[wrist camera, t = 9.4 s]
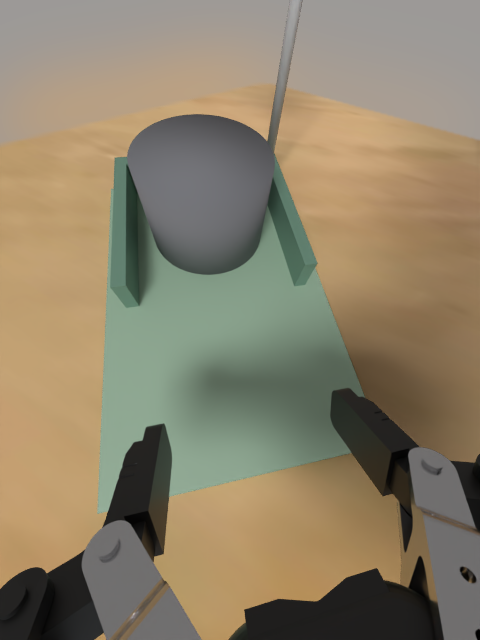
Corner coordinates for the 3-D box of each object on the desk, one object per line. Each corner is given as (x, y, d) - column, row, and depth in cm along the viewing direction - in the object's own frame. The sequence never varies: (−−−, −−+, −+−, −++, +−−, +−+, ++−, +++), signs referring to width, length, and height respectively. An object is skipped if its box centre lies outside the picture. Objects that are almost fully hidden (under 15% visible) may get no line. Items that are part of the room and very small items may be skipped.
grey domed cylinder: (248, 191, 25) (257, 112, 19) (271, 267, 22) (292, 199, 15) (151, 199, 24) (126, 116, 18) (157, 281, 20) (128, 213, 14)
